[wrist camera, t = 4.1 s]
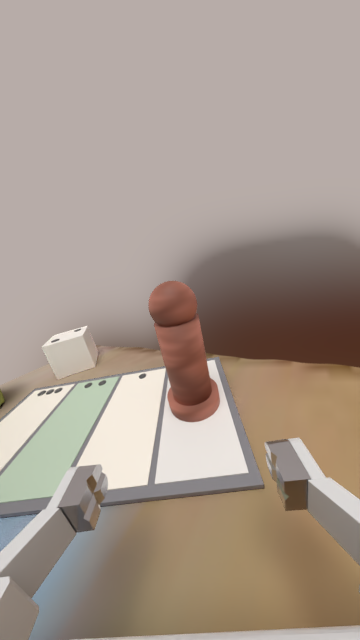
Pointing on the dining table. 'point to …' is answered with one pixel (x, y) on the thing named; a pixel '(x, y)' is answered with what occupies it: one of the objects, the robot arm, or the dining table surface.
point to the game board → (121, 442)
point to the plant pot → (1, 398)
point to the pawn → (183, 352)
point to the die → (71, 352)
